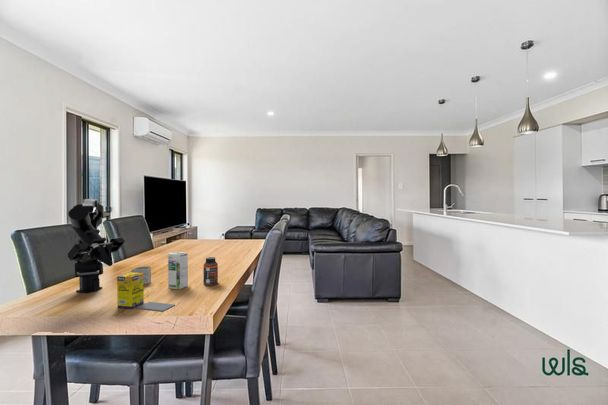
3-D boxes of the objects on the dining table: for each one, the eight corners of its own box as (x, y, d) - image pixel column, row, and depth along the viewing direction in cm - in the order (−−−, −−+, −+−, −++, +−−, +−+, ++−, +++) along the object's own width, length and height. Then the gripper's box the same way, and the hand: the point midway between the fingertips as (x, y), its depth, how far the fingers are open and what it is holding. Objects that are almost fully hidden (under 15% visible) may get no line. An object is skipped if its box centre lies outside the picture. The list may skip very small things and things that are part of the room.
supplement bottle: (210, 286, 133) (209, 259, 132) (200, 284, 136) (200, 258, 135) (220, 283, 138) (220, 257, 137) (211, 281, 141) (211, 256, 141)
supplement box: (132, 309, 107) (131, 276, 107) (116, 308, 108) (116, 276, 108) (144, 303, 113) (143, 272, 112) (129, 302, 114) (129, 272, 114)
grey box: (154, 282, 141) (154, 267, 140) (141, 285, 135) (140, 270, 134) (138, 279, 145) (138, 265, 145) (125, 283, 139) (124, 268, 138)
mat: (136, 308, 108) (136, 307, 108) (149, 302, 113) (149, 301, 113) (162, 311, 104) (162, 310, 104) (175, 305, 110) (175, 304, 110)
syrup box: (167, 288, 131) (166, 253, 130) (178, 284, 136) (177, 250, 136) (178, 289, 128) (177, 254, 128) (188, 285, 134) (188, 251, 134)
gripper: (98, 244, 126) (121, 273, 123) (49, 252, 109) (73, 287, 106) (113, 225, 124) (136, 254, 121) (65, 230, 106) (90, 265, 103)
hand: (111, 265), depth 113 cm, fingers closed
